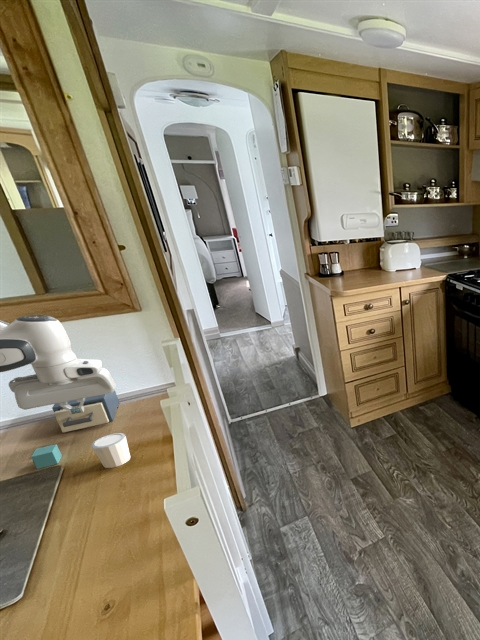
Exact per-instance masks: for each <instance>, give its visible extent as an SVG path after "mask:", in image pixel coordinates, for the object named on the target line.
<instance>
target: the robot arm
mask: <svg viewBox="0 0 480 640" xmlns="http://www.w3.org/2000/svg"><path fill="white" fill-rule="evenodd" d="M28 365H31V367H32V369H33V371H34V374H29V375H25V376H17V377H14V378H13V379H11V380H10V381H9V382H8V387H9V389H10V391H11V392H12V393H14V398H15V401H16V404H17V407H18V408H19V409H22V410H26V411H27V410H31V409H36V408H41V407H46V406H51V405H54V404H57V403H59V405H60V406H61V407H63V408H64V409H66V410H68V411H69V414H70V415H71V414H76V413H81V412H84V407H83V404H84V401H85V399H86V398H88V397H93V396H98V395H103V394H108V393H112V392H113V391H114V390H115V391H116V389H117V384H116V381H115V379H114V377H113V376H112V374H111V372H110V371H109V370H108V369H107V368H105V367H103V366H104V365H103V361H102V360H101V359H88V358H78V356H77V354H76V353H75V352H74V351H73V349H72V342H71V340H70V337H69V336H68V333H67V331H66V329H65V327H64V326H63V324H62V322H61V321H60V320H59V319H58V318H56V317H53V316H50V315H45V314H43V315H41V314H32V315H31V314H30V315H23V316H19V317H17V318H16V319H14V321H12V322H7V321H3V320H1V319H0V373H5V372H9V371H12V370H15V369H19V368H22V367H26V366H28ZM72 400H77V402H80V404H79V406H74V407H72V406H71V405H69V404H68V401H72Z"/></svg>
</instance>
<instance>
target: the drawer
mask: <svg viewBox="0 0 480 640" xmlns="http://www.w3.org/2000/svg"><path fill="white" fill-rule="evenodd" d="M76 406H79V405H76ZM72 407H74V406H72ZM83 407H84V412H81V413H76V414H71V415H70V414H69V411H68V410H66V409H64V408H61V409H60V411H55V412H54V411H53V414H54V417H55V419H56V422H57V424H58V425H59V428H60V430H61V432H62V433H67V432H72V431H77V430H80V429H86V428H91V427H94V426H99V425H103V424H108V423H110V422H109V419H108V417H107V413H106V411H105V408H104V406H103V403H102V401H97V402H92V403H87V404H83Z"/></svg>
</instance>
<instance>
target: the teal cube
mask: <svg viewBox="0 0 480 640" xmlns="http://www.w3.org/2000/svg"><path fill="white" fill-rule="evenodd" d="M62 457H63V455H62V453H61V450H60V449H59V446H58V444H57V443H56V444H51V445H46V446H42V447H38V448H35V449H34V451H33V453H32V455H31V456H30V458H31V460H32V462H33V464H34V465H35V468H36V470H38V469H43V468H47V467H50V466H55V465H58V464H59V463H60V460H61V459H62Z"/></svg>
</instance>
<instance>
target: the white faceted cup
mask: <svg viewBox="0 0 480 640" xmlns="http://www.w3.org/2000/svg"><path fill="white" fill-rule="evenodd" d="M90 447H91V448H92V450H93V451H94V453H95V455H96V456H97V458H98V460H99V461H100V464H102V466H103V468H105V469H113V468H117V467H120V466H123V465H124V464H125V463H127V462H129V461H130V460H131V454H130V449H129V445H128V440H127V436H126V434H125V433H122V432H115V433H110V434H106V435H104V436H102V437H101V436H100V437H99V438H97V439H96V440H94V441H93V442H92V443H91V445H90Z"/></svg>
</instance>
